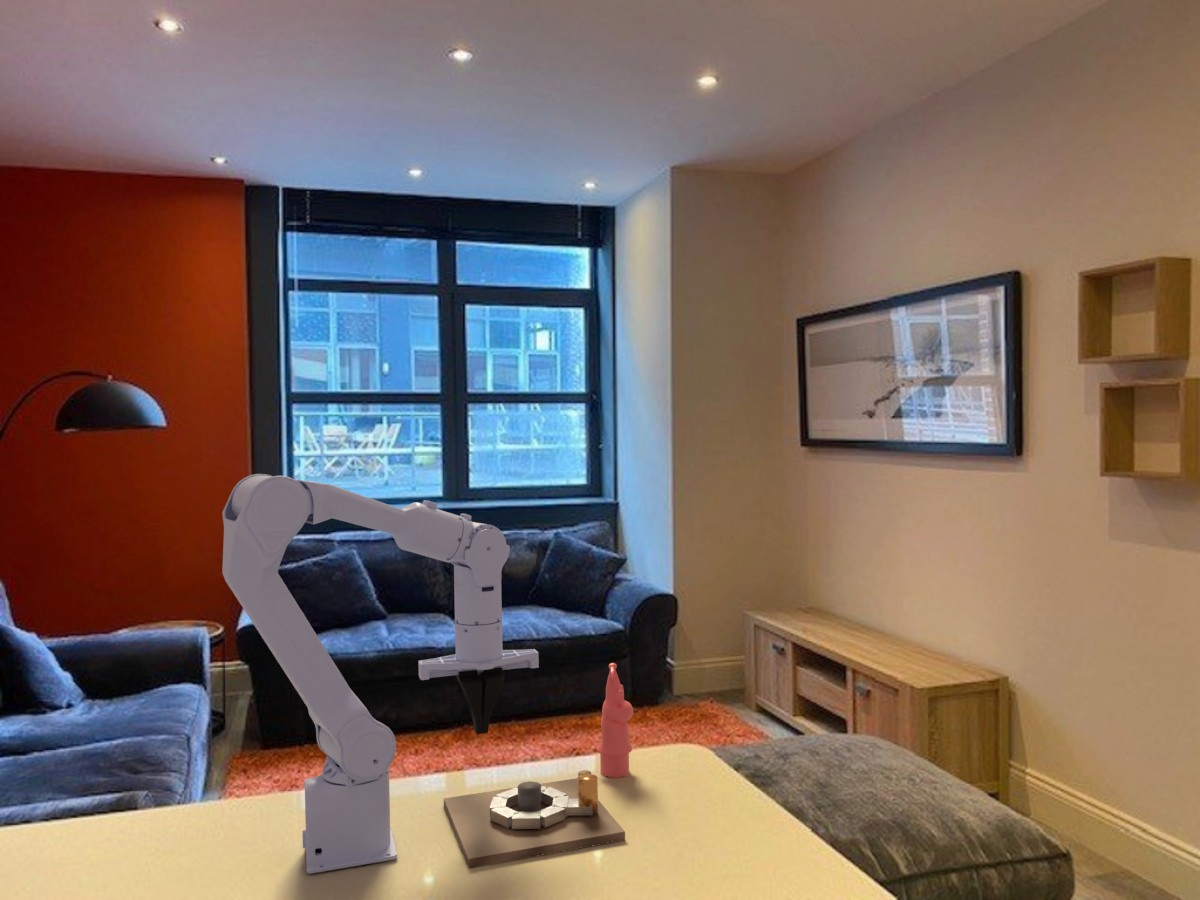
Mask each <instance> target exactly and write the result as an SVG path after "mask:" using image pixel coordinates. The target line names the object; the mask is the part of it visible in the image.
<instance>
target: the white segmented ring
mask: <svg viewBox="0 0 1200 900" xmlns="http://www.w3.org/2000/svg"><path fill="white" fill-rule="evenodd" d="M576 778H577V781H578V799H569V796H567V794H566V793H563V792H561V791H558V790H556V789H554V788H551V787H549V788H546V786H541V802H543V803H545V804H547V805H550V807H547V808H545V809H543V810H540V811H538V812H517V811H515V810H512V809H510V808H509V807H511V806H514V805H516V804H518V788H516V787H512V788H513V789H510V790H508V791H505V792H502V793H500V794H497V795H496V797H493V799H492V802H491V805H490V818H491V820H492V821H494V822H496V823H498V824H500V825H502V826H504V827H506V828H510V827H512V829H540V826H542V827H544V828H545V827H548V826H550V825H552V824H555V823H557V822H559V821H562V820H564V819H565V817H567V816H569V815H593V814H596V813H597V812H598V800H599V796H598V795H599V793H598V792H599V791H598V790H599V789H598V787H599V785H598V776H597V775H595V774H592V773H591V774H583V775H580V776H578V775H577V777H576Z"/></svg>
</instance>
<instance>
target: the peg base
mask: <svg viewBox="0 0 1200 900" xmlns="http://www.w3.org/2000/svg"><path fill="white" fill-rule="evenodd" d="M583 774H592V772H591V771H590V770H588V769H587V770H585V769H583V770H579V771H578V772H577V777H576V778H570V779H569V778H568V779H563V780H558V781H557V780H556V781H549V782H541V783H540V782H537V781H533V780H532V781H524V782H521V783H519V784H518V785H517V787H515V788H518V804H516V805H514V806H511V807H509V808H510V809H512V810H515V811H517V812H538V811H540V810H543V809H545V808H547V807H550V805H547V804H545V803H543V802H541V786H546V788H549V787H551V788H554V789H556V790H558V791H561V792H563V793H566V794H567V796H569V799H578V781H577V778H578V776H580V775H583ZM513 788H514V787H509V788H503V789H496V790H492V791H491V790H490V791H485V792H478V793H477V792H476V793H471V794H465V795H464V794H463V795H458V796H450V797H445V798H443V809H444V810H445V812H446V816H447V818H448V820H449V822H450V825H451V828H452V827H453V828H452V830H453V833H454V835H455V838H456V839H457V843H458V846H459V848H460V851H461V852H462V854H463V857H464V860H465V863H466V865H467V867H468V869H471V868H477V867H483V866H488V865H494V864H500V863H506V862H511V861H517V860H522V859H528V858H533V856H534V857H538V856H537V855H540V856H543V855H542V854H545V855H549V853H551V854H555V853H554V852H556V853H560V852H559V851H562V852H564V851H563V850H568V851H571V850H570V849H573V850H577V849H576V848H579V849H581V848H580V847H584V848H587V847H586V846H590V847H593V846H592V845H595V846H599V845H598V844H601V845H604V844H603V843H607V842H612V841H613V842H612V843H616V842H615V841H618V842H621V841H620V840H623V841H626V831H625V829H624V828H622V826H621V825H620V824H619V823H618V821H617V820H616V819H615V818H614V817H613V815H612V814H611V813H610V811H608V810H607V808H605V806H604V804H602V803H601V801H600V800H599V799H598V812H597V813H596V814H593V815H569V816H567V817H565V819H564V820H562V821H559V822H557V823H555V824H552V825H550V826H548V827H545V828H544V827H542V826H540V829H512V827H510V828H506V827H504V826H502V825H500V824H498V823H496V822H494V821H492V820H491V818H490V805H491V802H492V799H493V797H496V795H497V794H500V793H502V792H505V791H508V790H510V789H513ZM607 844H608V843H607Z"/></svg>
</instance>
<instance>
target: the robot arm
mask: <svg viewBox="0 0 1200 900" xmlns="http://www.w3.org/2000/svg"><path fill="white" fill-rule="evenodd" d="M437 506H438V503H437V502H434V501H431V500H425V499H424V500H422V503H421V502H417V501H416V502H412V503H409V504H408V505H406V506H404V507H402V508H400V507H396V506H393V505H390V504H387V503H384V502H382V501H379V500H377V499H374V498H370V497H367V496H365V495H362V494H359V493H357V492H356V493H355V492H354V491H351V490H348V489H345V488H342V487H339V486H336V485H333V484H330V483H323V482H317V481H309V480H301V479H294V478H292V477H289V476H287V475H274V476H272V475H271V474H265V473H255V474H251V475H248V476H246V477H244V478H243V479H241V480H240V481H238V482H237V483H236V485H235V486H234V487H233V489H232V491H231V493H230V495H229V497H228V499H227V502H226V504H225V506H224V508H223V510H222V521H223V544H222V545H223V547H222V548H223V549H222V567H221V568H222V576H223V578H224V581H225V583H226V584H227V586H228V587H229V589H230V591H232V593H233V594H234V596H235V598H236V600H237V602H238V603H239V604H240V605H241V606H242V608H243V610H244V612H245V613H246V615H247V616H248V618H249V619H250V621H251V623H252V624H253V625H254V628H255V629H256V630H257V631H258V634H259V635H260V636H261V639H263V641H264V643H265V644H266V645H267V647H268V649H269V650H270V652H271V653H272V655H273V657H274V658H275V660H276V661H277V663H278V664H279V665H280V667H281V669H282V670H283V672H284V674H285V675H286V676H287V678H288V679H289V681H290V683H291V684H292V686H293V687H294V689H295V691H296V692H297V693H298V695H299V696H300V698H301V700H302V701H303V703H304V704H305V706H306V707H307V711H308V714H309V717H310V718H311V720H312V723H314V726H315V732H316V733H315V734H316V735H315V736H316V743H317V746H318V748H319V750H321V752H323V753H324V754H325V755H326V760H325V762H324V765H323V769H322V773H321V774H319V775H317V776H313V777H309V778H306V779H304V810H305V811H304V813H305V814H304V816H305V829H304V830H302V835H301V836H302V849H305V850H306V851H305V853H306V854H305V857H306V858H305V860H306V861H305V862H306V873H307V874H310V875H311V874H317V873H321V872H322V873H323V872H328V871H334V870H339V869H340V870H341V869H347V868H352V867H357V866H358V867H359V866H363V865H368V864H369V865H370V864H376V863H381V862H387V861H393V860H395V859H396V860H397V858H398V852H397V851H398V850H397V846H396V843H395V840H394V839H395V838H394V835H393V831H392V827H391V808H390V807H391V806H390V805H391V803H390V799H391V798H390V797H391V796H390V767H391V765H392V763H393V761H394V759H395V756H396V752H397V741H396V737H395V734H394V731H392V730H391V728H390V727H389V726H387V725H385V724H384V723H382V722H380V721H379V720H376V719H375V718H374V717H373V716H372V714H371V713H370V712H369V710H368V708H367V707H366V706H365V704H363V702H362V701H361V700H360V699H359V697H358V696H357V695H356V694H355V693H354V691H353V690H352V689H351V688H350V686H349V684H348V682H347V681H346V679H345V677H344V676H343V674H342V672H341V671H340V670H339V668H338V666H337V665H336V664H335V662H334V660H333V659H332V657H331V655H330V654H329V653H328V651H327V649H326V648H325V646H324V644H323V643H322V641H321V640H320V638H319V637H318V635H317V633H316V632H315V630H314V628H313V627H312V625H311V624H310V622H309V620H308V619H307V617H306V615H305V613H304V612H303V611H302V609H301V608H300V606H299V604H298V603H297V601H296V599H295V598H294V596H293V594H292V593H291V592H290V590H289V589H288V587H287V585H286V584H285V582H284V580H283V579H282V577H281V575H280V574H279V568H280V565H281V562H282V559H283V558H284V555H285V552H286V549H287V547H288V545H289V544H290V543H291V541H293V539H294V538H295V536H296V535H297V534H298V533H299V532H300V530H302V528H303V526H304V525H305V523H307V524H310V525H317V524H319V523H322V522H325V521H328V520H330V519H333V520H338V521H342V522H346V523H349V524H352V525H356V526H361V527H364V528H368V529H371V530H376V531H379V532H383V533H387V534H390V535H391V536H392V537H393V540H394V541H395V544H396V545H397V547H398V548H399V549H400V550H403V551H407V552H410V553H413V554H417V555H420V556H424V557H427V558H431V559H434V560H438V561H441V562H444V563H450V564H452V565H453V579H454V580H453V582H454V583H453V586H454V587H453V588H454V590H453V591H454V593H453V594H454V641H455V654H450V655H444V656H440V657H436V658H428V659H421V660H418V661H417V662H418V665H417V666H418V677H419V680H420V681H425V680H426V681H427V680H430V678H431V679H432V678H440V677H449V676H455V677H456V679H457V681H458V683H459V685H460V687H461V690H462V692H463V694H464V697H465V699H466V701H467V704H468V708H469V711H470V716H471V719H472V725H473V730H474V732H475V734H476V735H481V734H488V733H489V727H490V722H491V717H492V716H491V715H492V713H493V709H494V706H495V703H496V700H497V698H498V695H499V693H500V692H501V689H502V687H503V685H504V682H505V674H504V673H503V671H505V670H515V669H527V668H529V669H536V668H537V669H538V668H539V667H540V666H539V664H540V663H539V662H540V659H539V651H537V650H536V649H535V648H533V649H532V648H530V649H529V648H528V649H504V648H503V610H502V609H503V607H502V603H503V601H502V579H503V578H502V570H503V567H504V565H505V563H506V562H507V561H508V559H509V556H510V551H511V547H510V545H509V544H507V540H506V537H505V535H504V533H503V532H501V529H500V528H498V527H497V526H495V525H492V524H487V523H481V522H475V521H472V515H470V514H467V513H460V515H458V514H455V513H452V512H447V511H446V510H445V511H444V510H442V509H439V508H437Z"/></svg>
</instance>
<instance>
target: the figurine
mask: <svg viewBox="0 0 1200 900" xmlns="http://www.w3.org/2000/svg"><path fill="white" fill-rule="evenodd" d="M617 666H618V665H617V664H616V663H615V662H610V663H609V664H608V668H609V673H608V676H607V681H606V686H605V700H603V704H602V708H601V714H602V715H601V718H600V728H601V729H600V730H601V741H600V743H599V744H598V745H597V747H596V752H598V753H599V754H600V757H599V758H600V759H599V760H600V774H601V775H602V776H604V777H606V776H608V777H607V778H622V776H623V777H625V776H627V775H629V774H630V753H631V752H632V751H633V746H632V744H631V741H630V732H629V724H628V721H630V719H631V718H632V717H633V715H634V707H633V706H632V704H631V703H630V702H629V701H627V700H625V691H624V689H625V688H624V685H623V684H621V681H620V678H619V675H618V673H617V670H616V669H617Z"/></svg>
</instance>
